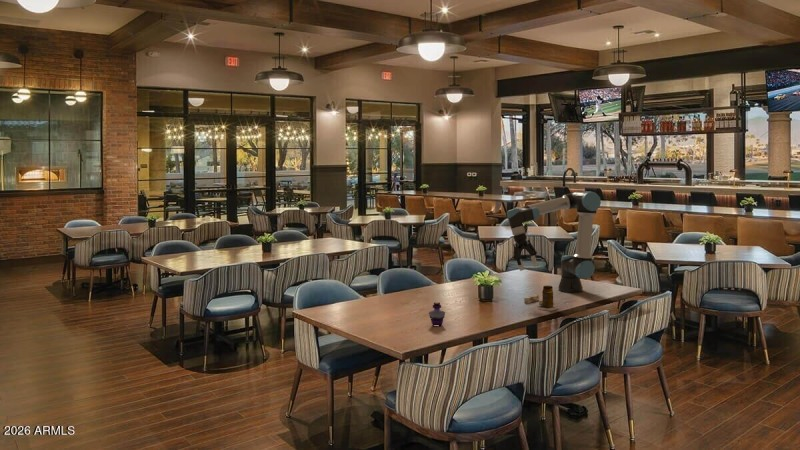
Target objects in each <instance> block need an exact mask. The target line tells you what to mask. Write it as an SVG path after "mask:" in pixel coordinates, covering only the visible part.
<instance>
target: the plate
mask: <svg viewBox="0 0 800 450" xmlns="http://www.w3.org/2000/svg"><path fill="white" fill-rule="evenodd" d="M538 306H543V305H539V304H538ZM553 306H555V307H554V308H548V309H544V308H540V307H537V306H536V308H537V310H540V311H556V310H558V306H556V305H554V304H553Z"/></svg>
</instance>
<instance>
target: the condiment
mask: <svg viewBox="0 0 800 450" xmlns="http://www.w3.org/2000/svg"><path fill="white" fill-rule="evenodd" d="M541 296H542V298H541V300H542V305H543V306H539V305H537V306H536V308H537V307H540V308H544V309H548V308H554V307H555V306H556V305H554V290H553V286H552V285H544V286H543V287H542V295H541ZM553 305H554V306H553Z"/></svg>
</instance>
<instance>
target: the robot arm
mask: <svg viewBox="0 0 800 450" xmlns="http://www.w3.org/2000/svg"><path fill="white" fill-rule="evenodd" d="M601 202H602V201H601V197H600V196H599V194H597V193H596V192H594V191H591V190H589V191H588V190H577V191H573V192H571V193H566V194H563V195H562V196H561V197H557V198H554V199H549V200H545V201H541V202H536V203H532V204H527V205H524V206H516V207H514V208H512V209H509V210H507V211H506V216H507V217H506V218H507V220H508V223H509V226H510V229H511V230H510V231H511V232H512V236H513V241H514V242H515V243H513V244H512V245H513V260H514V261H516V264H517V266H518V268H519V271H520V272H521V271H525V267H524V264H523V260H522V258H521V256H522V251H523V250H525V251H526V252H527V253H528V254H529V255H530V259H531V263H532V266H533V267H538V265H539V264H538V262H537V258H536V255H537V253H538V251H536V248H535V247H534V246H533V244H532V243H531V240H530V239H528V238H527V234H526V231H525V227H524V223H528V222H532V221H535V220H539V219H540V218H541V215H545V214H548V213H553V212H557V211H560V210H572V209H574V210H576V213H577V215H578V225H577V232H576V233H577V235H576V246H575V253H574V254H570V255H569V254H568V255H562V256H561V260H560V264H561V265H560V267H561V269H560V271H561V273H560V277H561V278H560V281H559V284H558V291H559V292H564V293H581V292H583V290H584V289H583V284H582V281H581V279H583V280H586V279H589V278H591V277H592V276H593V274H594V273H595V268H596V267H595V264H594V263H593V256H592V255H591V245H592V236H593V235H592V233H593V224H594V217H595V216H596V214H597V211H598V209H599V208H600V206H601ZM527 239H528V240H527Z"/></svg>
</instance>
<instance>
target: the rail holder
mask: <svg viewBox="0 0 800 450" xmlns="http://www.w3.org/2000/svg"><path fill="white" fill-rule="evenodd" d="M523 299H524V304H529V303H532V302H533V303H534V302H538V306H539V305H542V299H541V300H539V295H532V296H528V297H524V298H523Z"/></svg>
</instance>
